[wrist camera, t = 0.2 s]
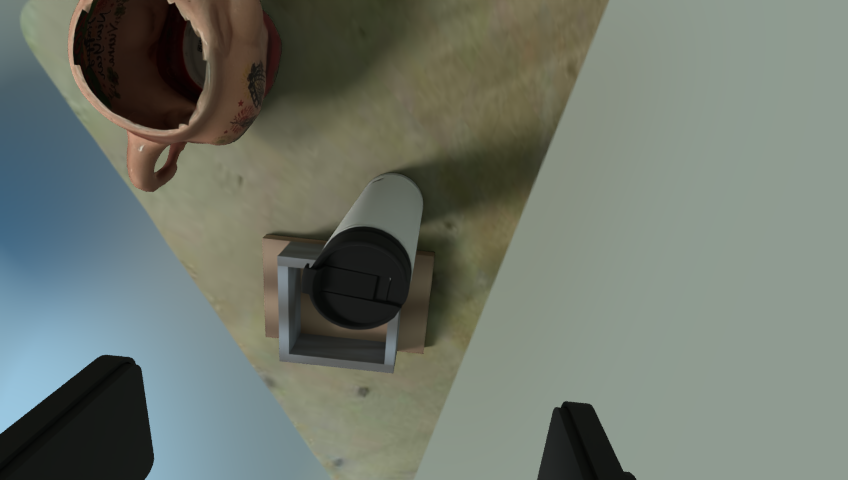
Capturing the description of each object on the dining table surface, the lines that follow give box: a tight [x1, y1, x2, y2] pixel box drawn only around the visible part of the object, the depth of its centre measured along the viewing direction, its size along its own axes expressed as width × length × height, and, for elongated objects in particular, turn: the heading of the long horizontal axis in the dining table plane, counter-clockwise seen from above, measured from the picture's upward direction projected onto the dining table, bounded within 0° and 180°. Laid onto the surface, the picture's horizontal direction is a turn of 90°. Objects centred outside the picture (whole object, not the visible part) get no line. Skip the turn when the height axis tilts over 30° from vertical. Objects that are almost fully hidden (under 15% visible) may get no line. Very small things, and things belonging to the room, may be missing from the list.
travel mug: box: [301, 173, 423, 330], centre depth 36 cm, size 6×7×20 cm
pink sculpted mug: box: [68, 0, 282, 192], centre depth 35 cm, size 20×12×14 cm, turn 162°
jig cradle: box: [262, 235, 435, 373], centre depth 46 cm, size 12×18×5 cm, turn 84°
